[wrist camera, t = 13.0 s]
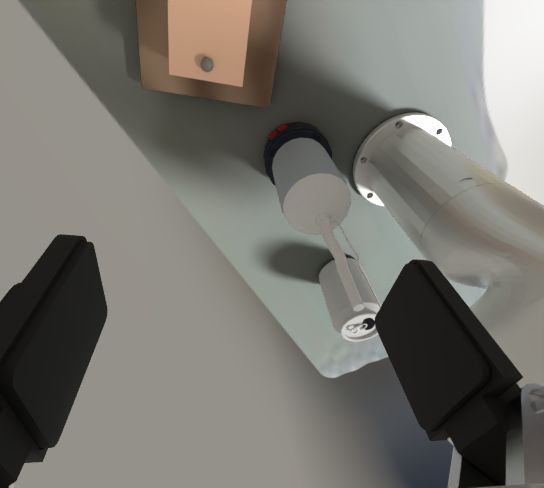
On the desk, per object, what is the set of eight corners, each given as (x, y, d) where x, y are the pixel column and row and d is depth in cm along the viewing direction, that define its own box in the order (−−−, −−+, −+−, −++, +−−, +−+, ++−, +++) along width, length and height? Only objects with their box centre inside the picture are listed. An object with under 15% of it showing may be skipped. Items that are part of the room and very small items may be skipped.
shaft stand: (291, -53, 27) (306, -66, 22) (267, 103, 35) (274, 121, 30) (134, -94, 25) (109, -119, 20) (146, 84, 32) (130, 99, 27)
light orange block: (250, -23, 27) (255, -29, 21) (240, 74, 31) (242, 88, 26) (178, -40, 25) (165, -51, 20) (178, 63, 30) (167, 75, 25)
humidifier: (275, 112, 36) (330, 247, 16) (338, 133, 38) (454, 273, 18) (255, 175, 40) (278, 340, 21) (312, 190, 42) (383, 352, 23)
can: (363, 279, 54) (390, 337, 45) (322, 291, 55) (340, 350, 46) (358, 248, 50) (387, 306, 40) (313, 262, 51) (332, 321, 41)
